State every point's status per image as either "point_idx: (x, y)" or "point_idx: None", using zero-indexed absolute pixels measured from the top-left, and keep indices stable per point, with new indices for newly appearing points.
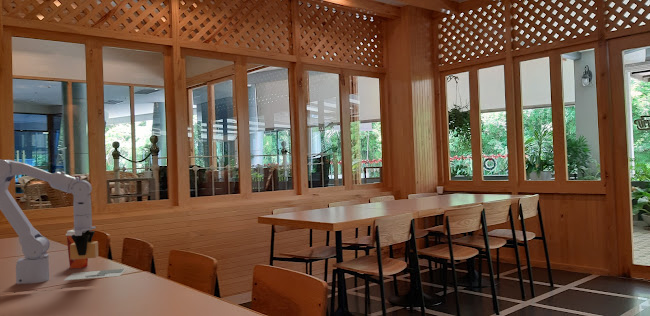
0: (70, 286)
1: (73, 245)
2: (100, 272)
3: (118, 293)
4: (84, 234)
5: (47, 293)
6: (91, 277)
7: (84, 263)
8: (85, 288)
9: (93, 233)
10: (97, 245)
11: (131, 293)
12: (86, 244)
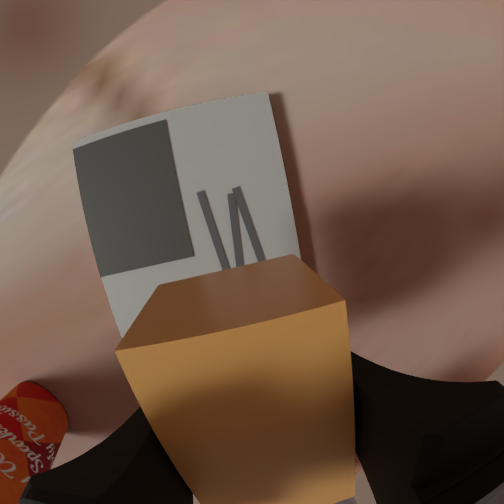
0: (384, 295)
1: (351, 477)
2: (153, 255)
3: (483, 62)
4: (438, 491)
5: (457, 321)
6: (281, 251)
7: (30, 400)
8: (431, 203)
9: (97, 493)
10: (170, 318)
11: (477, 28)
12: (394, 374)
